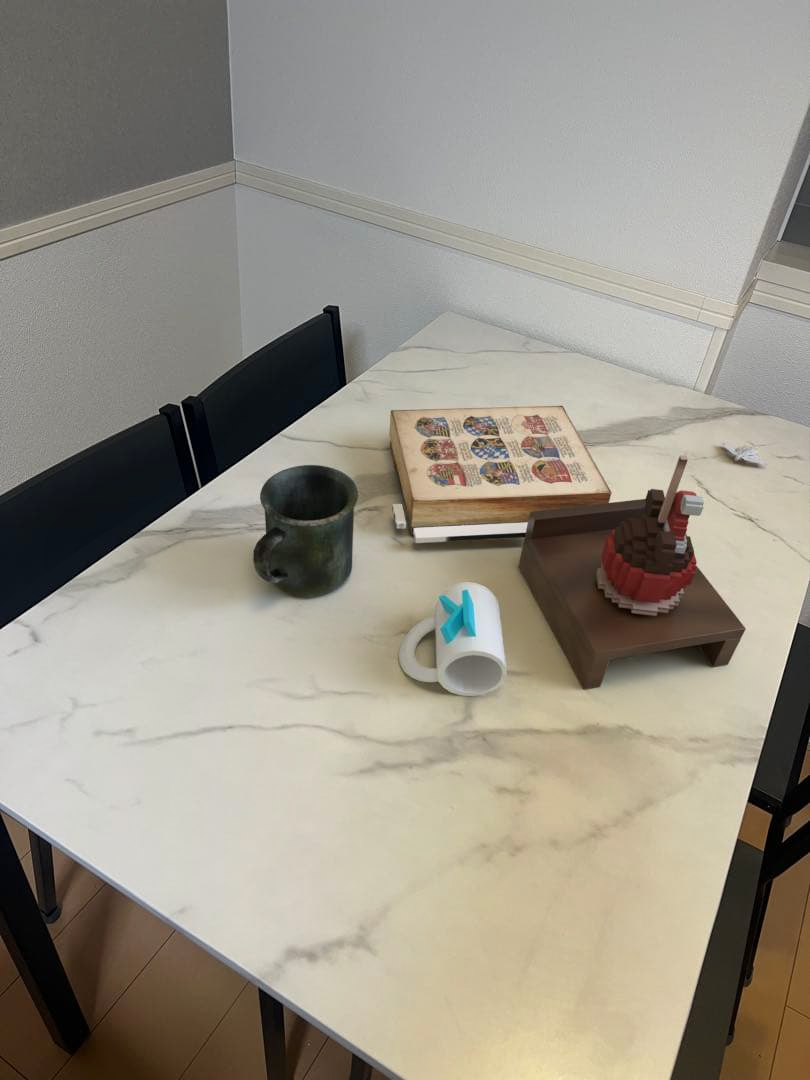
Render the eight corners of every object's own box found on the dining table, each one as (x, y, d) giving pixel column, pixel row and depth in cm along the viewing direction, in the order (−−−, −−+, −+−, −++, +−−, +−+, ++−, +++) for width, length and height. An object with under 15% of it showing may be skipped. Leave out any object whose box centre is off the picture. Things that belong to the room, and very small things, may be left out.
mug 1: (373, 564, 99) (377, 487, 92) (297, 633, 90) (295, 553, 82) (305, 529, 104) (304, 453, 96) (226, 591, 94) (217, 511, 86)
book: (399, 555, 102) (608, 544, 106) (401, 516, 97) (619, 506, 102) (376, 447, 120) (555, 441, 124) (377, 410, 116) (562, 405, 120)
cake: (592, 553, 95) (630, 424, 83) (671, 563, 94) (720, 434, 83) (600, 617, 86) (643, 483, 75) (686, 628, 86) (743, 495, 75)
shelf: (728, 664, 91) (756, 609, 85) (583, 689, 86) (602, 632, 81) (645, 550, 105) (664, 496, 99) (517, 567, 101) (530, 511, 95)
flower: (730, 442, 129) (737, 427, 128) (777, 464, 125) (784, 449, 124) (710, 452, 124) (717, 436, 123) (757, 475, 120) (765, 459, 119)
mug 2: (482, 550, 87) (491, 631, 78) (504, 606, 93) (514, 687, 84) (382, 576, 90) (378, 657, 81) (409, 629, 96) (408, 710, 86)
